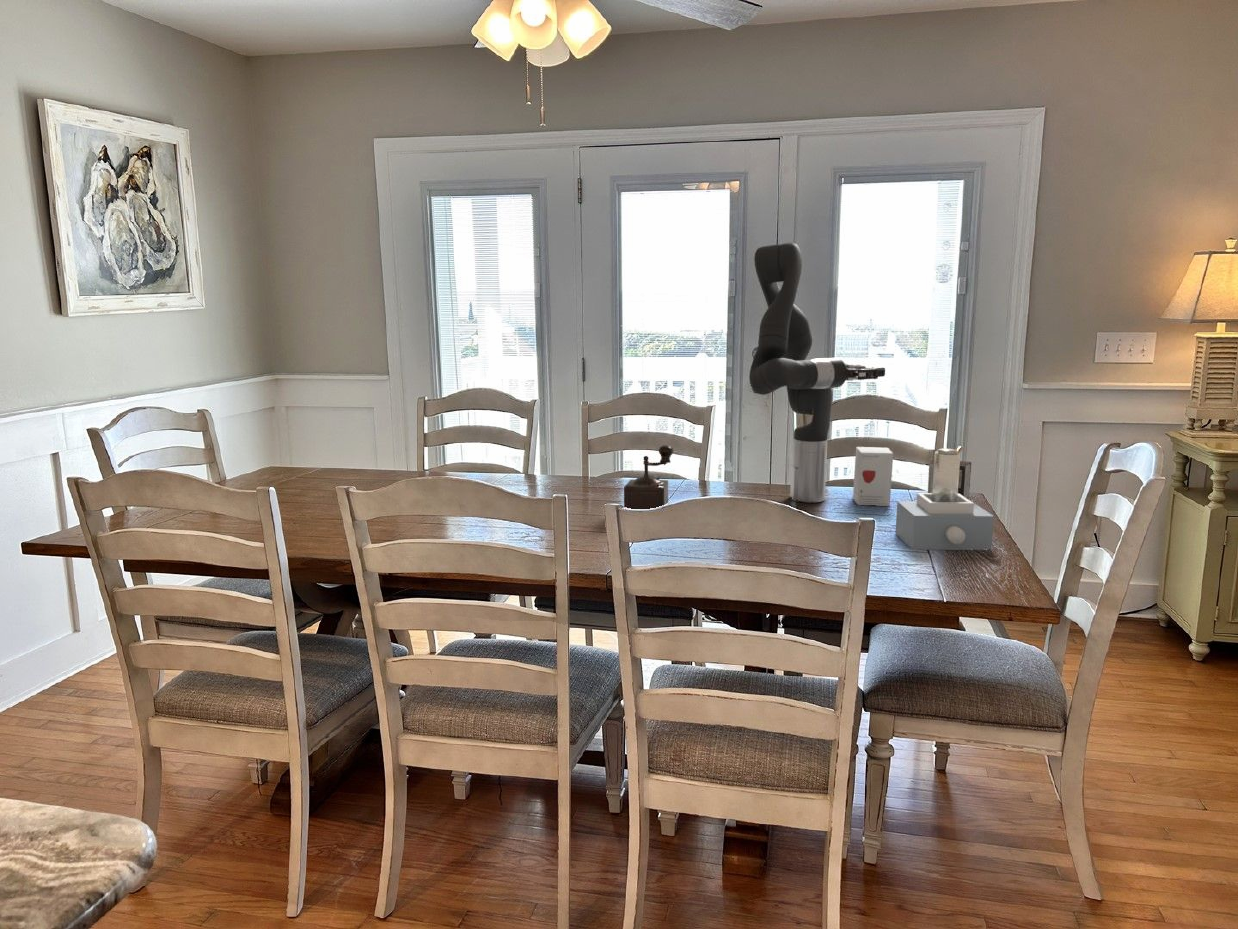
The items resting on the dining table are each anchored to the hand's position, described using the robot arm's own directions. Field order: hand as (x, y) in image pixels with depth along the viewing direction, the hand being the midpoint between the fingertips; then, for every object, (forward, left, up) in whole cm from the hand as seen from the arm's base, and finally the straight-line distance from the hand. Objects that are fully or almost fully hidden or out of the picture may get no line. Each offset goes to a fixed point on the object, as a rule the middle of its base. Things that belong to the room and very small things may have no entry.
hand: (871, 370), depth 234 cm
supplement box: (+5, +14, -38) cm, 41 cm away
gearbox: (+12, -26, -38) cm, 48 cm away
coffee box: (+19, -9, -38) cm, 43 cm away
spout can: (+12, -25, -30) cm, 41 cm away
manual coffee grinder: (-57, -3, -38) cm, 68 cm away
